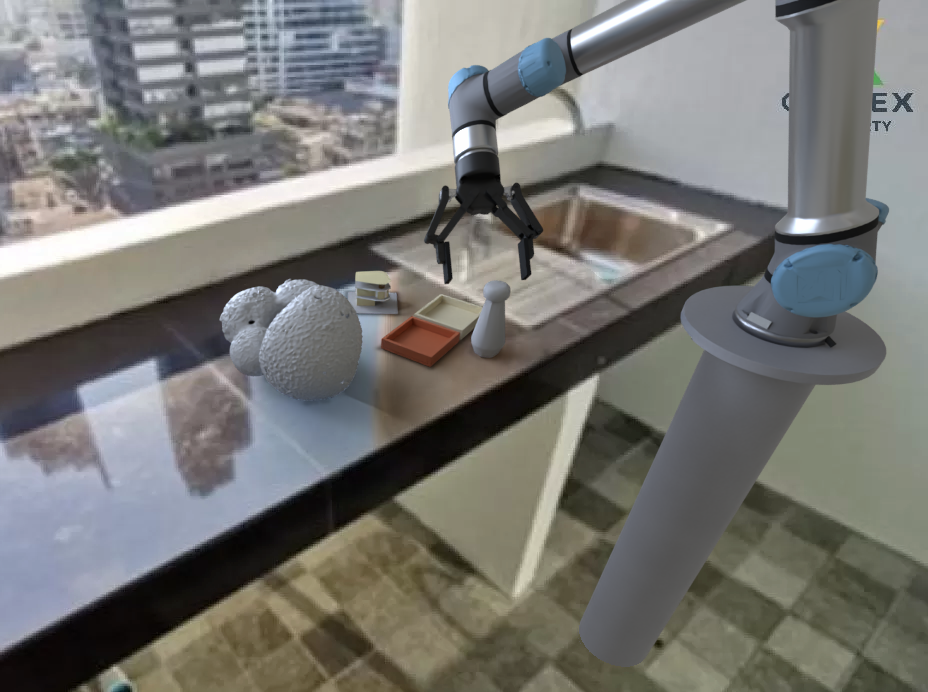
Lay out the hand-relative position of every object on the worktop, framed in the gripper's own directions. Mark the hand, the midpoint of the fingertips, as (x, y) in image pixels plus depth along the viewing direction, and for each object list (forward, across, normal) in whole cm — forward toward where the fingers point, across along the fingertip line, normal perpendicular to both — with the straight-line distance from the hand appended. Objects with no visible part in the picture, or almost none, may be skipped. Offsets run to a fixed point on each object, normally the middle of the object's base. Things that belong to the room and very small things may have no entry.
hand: (487, 279), depth 103 cm
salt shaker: (+12, 0, -5) cm, 13 cm away
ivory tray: (+3, +4, -13) cm, 14 cm away
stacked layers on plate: (-3, +17, -19) cm, 26 cm away
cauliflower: (+15, +33, -2) cm, 36 cm away
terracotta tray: (+9, +11, -7) cm, 16 cm away
